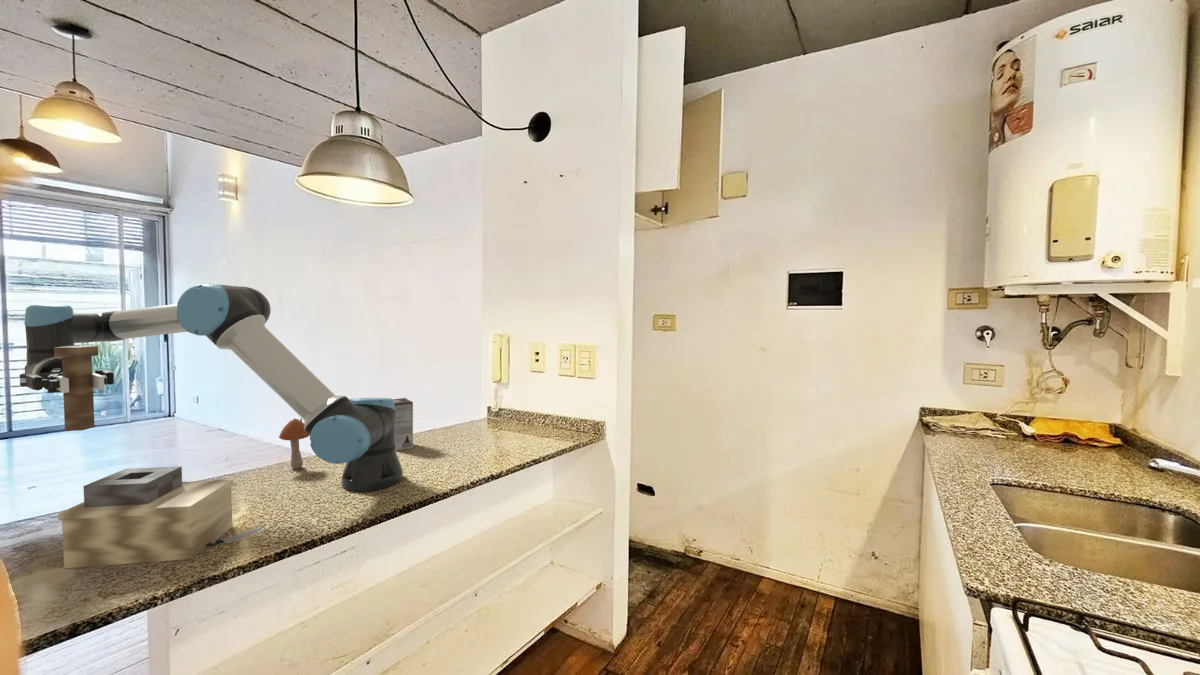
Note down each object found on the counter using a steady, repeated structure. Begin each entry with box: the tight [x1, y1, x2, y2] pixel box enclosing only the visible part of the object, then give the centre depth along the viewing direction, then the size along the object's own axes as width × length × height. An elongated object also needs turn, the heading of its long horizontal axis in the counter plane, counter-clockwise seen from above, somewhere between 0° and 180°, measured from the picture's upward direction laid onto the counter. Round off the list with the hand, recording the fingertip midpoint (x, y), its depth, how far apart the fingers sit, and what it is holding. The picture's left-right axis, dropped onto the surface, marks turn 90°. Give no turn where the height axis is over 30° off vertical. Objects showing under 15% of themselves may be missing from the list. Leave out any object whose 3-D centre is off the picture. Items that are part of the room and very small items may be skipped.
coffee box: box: [393, 397, 414, 452], centre depth 168 cm, size 9×6×16 cm
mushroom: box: [278, 418, 310, 470], centre depth 144 cm, size 8×8×15 cm
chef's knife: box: [206, 526, 265, 548], centre depth 100 cm, size 19×1×3 cm
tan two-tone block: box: [57, 466, 234, 569], centre depth 96 cm, size 21×15×14 cm
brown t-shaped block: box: [54, 345, 99, 432], centre depth 100 cm, size 4×4×17 cm
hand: (84, 384), depth 97 cm, fingers closed on brown t-shaped block, 4 cm apart
